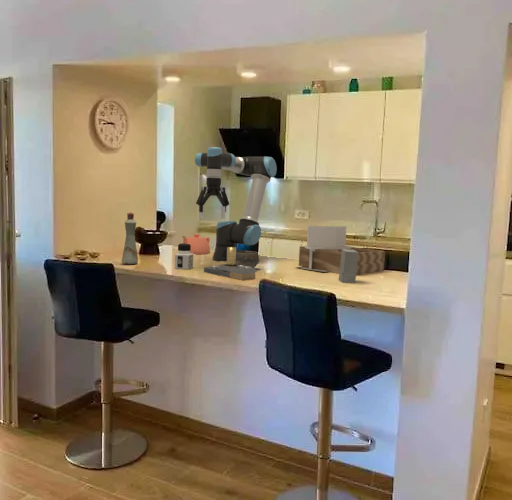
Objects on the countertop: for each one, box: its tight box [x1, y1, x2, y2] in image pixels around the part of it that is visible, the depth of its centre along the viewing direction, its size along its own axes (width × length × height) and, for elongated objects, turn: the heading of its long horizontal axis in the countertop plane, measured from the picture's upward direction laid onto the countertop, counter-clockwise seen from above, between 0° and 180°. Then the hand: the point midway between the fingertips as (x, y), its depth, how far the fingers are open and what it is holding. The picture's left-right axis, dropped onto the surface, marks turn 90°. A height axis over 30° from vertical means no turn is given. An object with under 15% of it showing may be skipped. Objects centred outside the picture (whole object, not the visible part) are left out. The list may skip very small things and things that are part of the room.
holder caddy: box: [298, 245, 386, 276], centre depth 317 cm, size 29×36×12 cm
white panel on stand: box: [295, 225, 352, 273], centre depth 317 cm, size 28×21×23 cm
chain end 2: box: [218, 263, 256, 281], centre depth 278 cm, size 8×18×6 cm, turn 43°
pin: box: [226, 246, 237, 272], centre depth 281 cm, size 4×4×14 cm
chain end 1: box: [203, 265, 231, 279], centre depth 286 cm, size 8×20×3 cm, turn 43°
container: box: [174, 242, 194, 270], centre depth 301 cm, size 8×8×13 cm
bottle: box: [121, 211, 139, 265], centre depth 310 cm, size 9×9×28 cm
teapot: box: [181, 233, 211, 256], centre depth 362 cm, size 25×17×13 cm
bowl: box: [236, 250, 260, 268], centre depth 302 cm, size 14×15×10 cm
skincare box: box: [338, 249, 358, 284], centre depth 273 cm, size 8×7×16 cm
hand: (212, 218), depth 299 cm, fingers open, 13 cm apart
